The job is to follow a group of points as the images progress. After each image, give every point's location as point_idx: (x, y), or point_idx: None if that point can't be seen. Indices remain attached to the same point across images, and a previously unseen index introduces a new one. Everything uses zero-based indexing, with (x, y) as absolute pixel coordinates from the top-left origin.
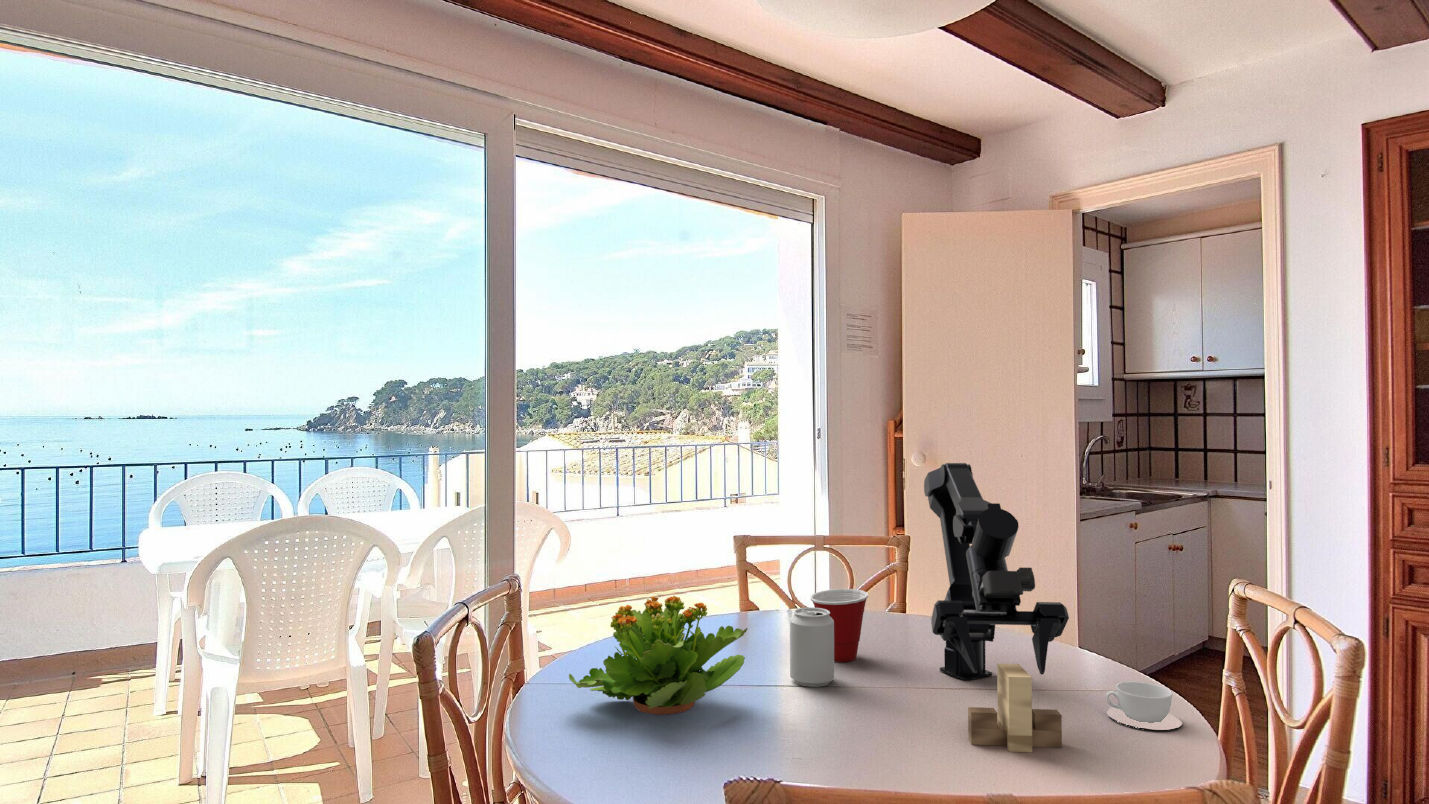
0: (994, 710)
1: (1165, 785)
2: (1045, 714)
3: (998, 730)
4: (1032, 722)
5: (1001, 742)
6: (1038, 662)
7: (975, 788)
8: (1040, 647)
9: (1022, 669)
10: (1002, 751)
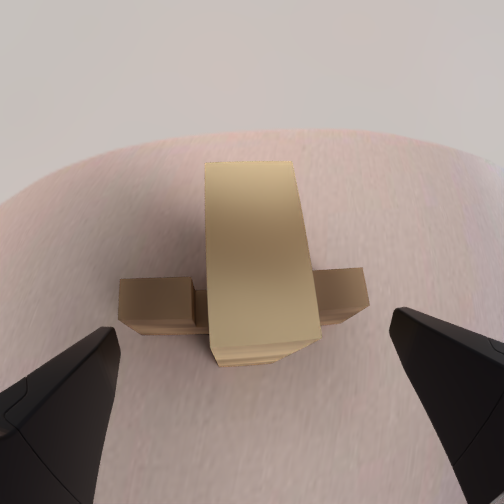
0: None
1: (54, 175)
2: (161, 278)
3: None
4: (194, 310)
5: None
6: (104, 381)
7: (329, 137)
8: (57, 380)
9: (214, 256)
10: None
